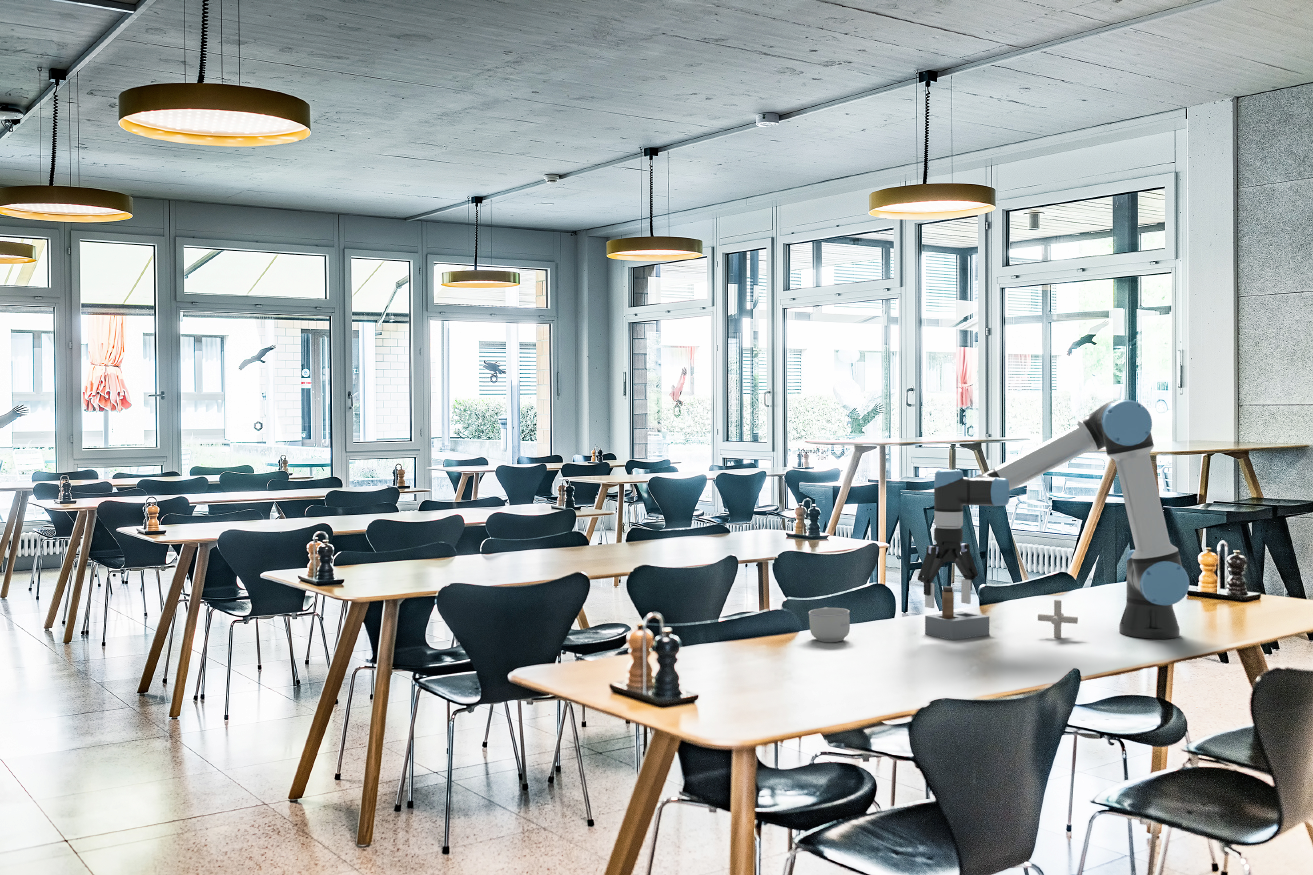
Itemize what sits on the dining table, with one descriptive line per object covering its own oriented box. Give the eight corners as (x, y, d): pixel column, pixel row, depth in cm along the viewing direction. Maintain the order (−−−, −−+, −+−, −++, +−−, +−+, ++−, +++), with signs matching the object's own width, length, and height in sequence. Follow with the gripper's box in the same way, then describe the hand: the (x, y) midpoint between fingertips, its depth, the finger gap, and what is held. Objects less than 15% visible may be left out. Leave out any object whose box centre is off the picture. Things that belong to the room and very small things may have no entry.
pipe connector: (1034, 638, 312) (1035, 601, 312) (1041, 632, 321) (1041, 596, 321) (1074, 642, 307) (1074, 604, 307) (1079, 635, 316) (1080, 598, 316)
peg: (955, 635, 316) (956, 587, 316) (947, 637, 314) (948, 588, 314) (947, 634, 318) (947, 585, 318) (939, 635, 317) (939, 586, 317)
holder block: (989, 634, 317) (989, 616, 317) (952, 639, 310) (952, 621, 310) (961, 629, 326) (961, 611, 326) (925, 633, 319) (925, 615, 319)
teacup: (848, 645, 303) (849, 614, 303) (806, 643, 306) (807, 612, 306) (850, 635, 317) (851, 605, 317) (810, 633, 319) (810, 604, 319)
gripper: (970, 523, 325) (970, 599, 326) (904, 528, 312) (904, 607, 313) (991, 525, 319) (991, 603, 319) (924, 530, 306) (924, 611, 306)
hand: (948, 605), depth 316 cm, fingers open, 13 cm apart
